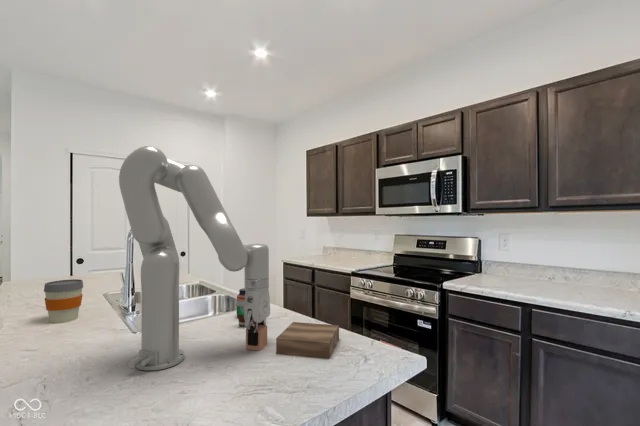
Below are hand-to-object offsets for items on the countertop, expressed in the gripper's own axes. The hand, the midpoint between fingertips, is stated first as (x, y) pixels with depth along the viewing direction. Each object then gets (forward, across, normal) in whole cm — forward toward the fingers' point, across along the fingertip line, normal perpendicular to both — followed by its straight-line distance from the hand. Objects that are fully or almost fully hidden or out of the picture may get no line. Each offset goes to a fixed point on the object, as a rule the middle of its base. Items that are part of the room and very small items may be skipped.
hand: (256, 341), depth 104 cm
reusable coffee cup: (+2, +9, +87) cm, 87 cm away
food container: (+2, +20, +10) cm, 22 cm away
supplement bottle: (+2, +28, +18) cm, 33 cm away
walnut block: (+2, +4, -16) cm, 17 cm away
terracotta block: (+2, 0, 0) cm, 2 cm away
